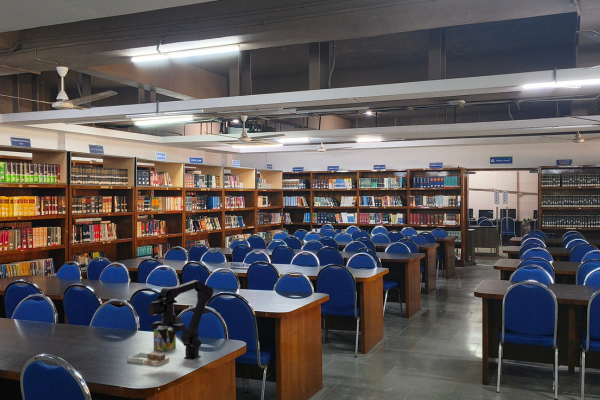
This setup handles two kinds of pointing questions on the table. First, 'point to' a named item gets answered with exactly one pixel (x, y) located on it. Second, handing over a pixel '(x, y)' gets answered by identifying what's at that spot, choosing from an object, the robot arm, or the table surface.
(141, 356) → the tray
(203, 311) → the robot arm
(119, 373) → the table surface
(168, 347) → the chalk box
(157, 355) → the tile
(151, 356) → the tile
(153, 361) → the beige square slab
